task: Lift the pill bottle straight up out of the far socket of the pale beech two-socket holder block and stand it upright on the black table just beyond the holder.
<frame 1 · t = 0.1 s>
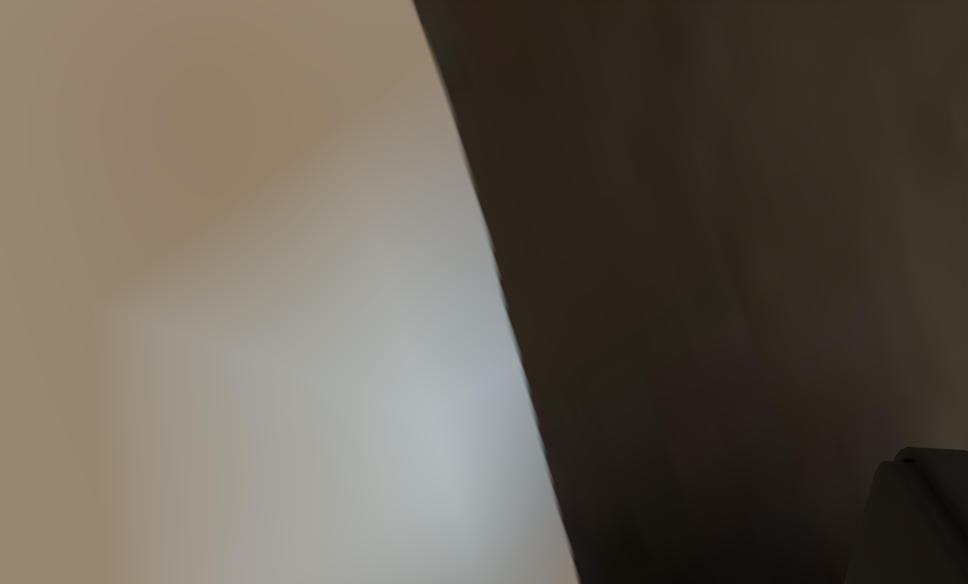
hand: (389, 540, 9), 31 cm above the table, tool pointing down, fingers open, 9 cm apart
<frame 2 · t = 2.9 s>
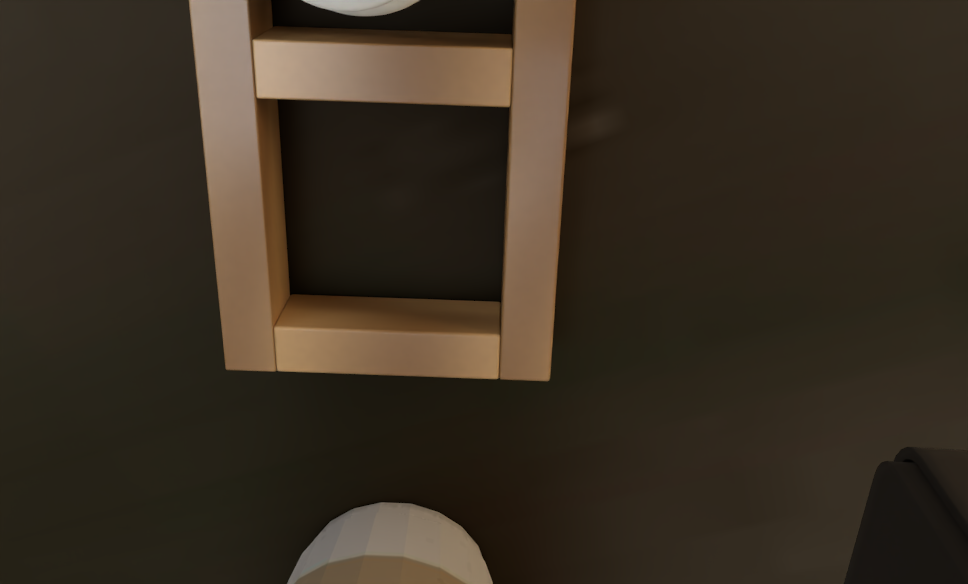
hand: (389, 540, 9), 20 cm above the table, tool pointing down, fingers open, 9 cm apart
holder: (392, 57, 27), on the table
coffee cup: (397, 572, 35), on the table
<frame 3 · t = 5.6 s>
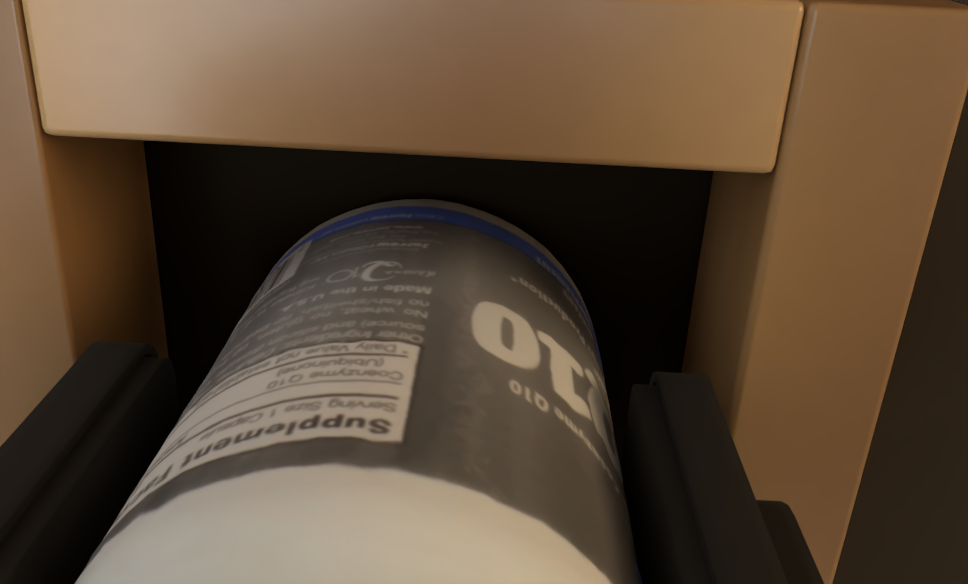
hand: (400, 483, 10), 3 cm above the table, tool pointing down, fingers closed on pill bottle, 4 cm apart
pill bottle: (424, 346, 12), resting in holder, touching gripper
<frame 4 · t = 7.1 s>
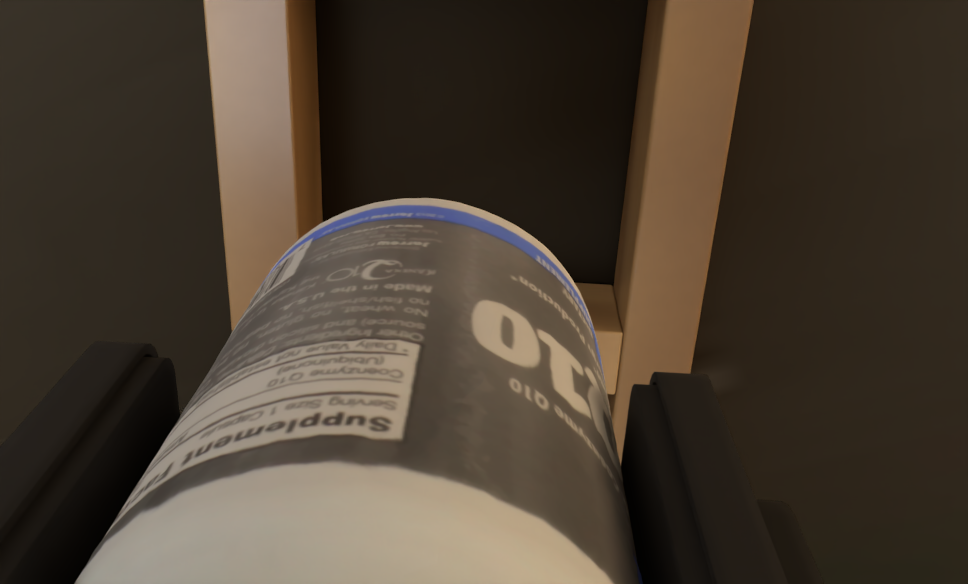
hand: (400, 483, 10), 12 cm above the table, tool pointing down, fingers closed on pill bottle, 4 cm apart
holder: (467, 304, 22), on the table
pill bottle: (425, 345, 12), point 9 cm above the table, touching gripper
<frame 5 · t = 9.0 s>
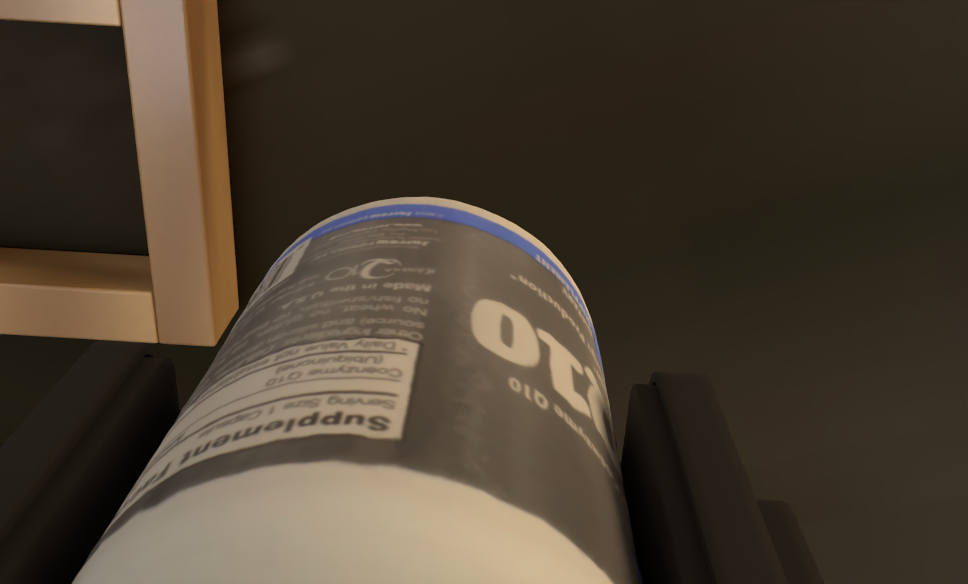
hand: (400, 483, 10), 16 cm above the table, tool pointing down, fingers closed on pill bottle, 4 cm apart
pill bottle: (424, 344, 12), point 13 cm above the table, touching gripper
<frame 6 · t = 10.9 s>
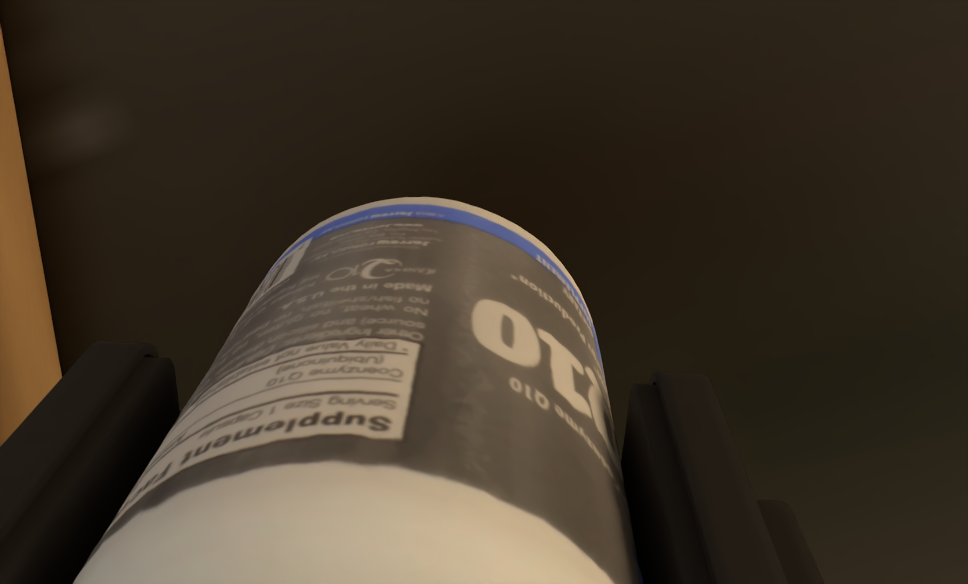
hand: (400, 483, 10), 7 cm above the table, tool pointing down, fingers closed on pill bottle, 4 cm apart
pill bottle: (424, 345, 12), point 4 cm above the table, touching gripper
when the fingers open (3 cm above the table, at t = 12.4 s): pill bottle stays where it is, on the table.
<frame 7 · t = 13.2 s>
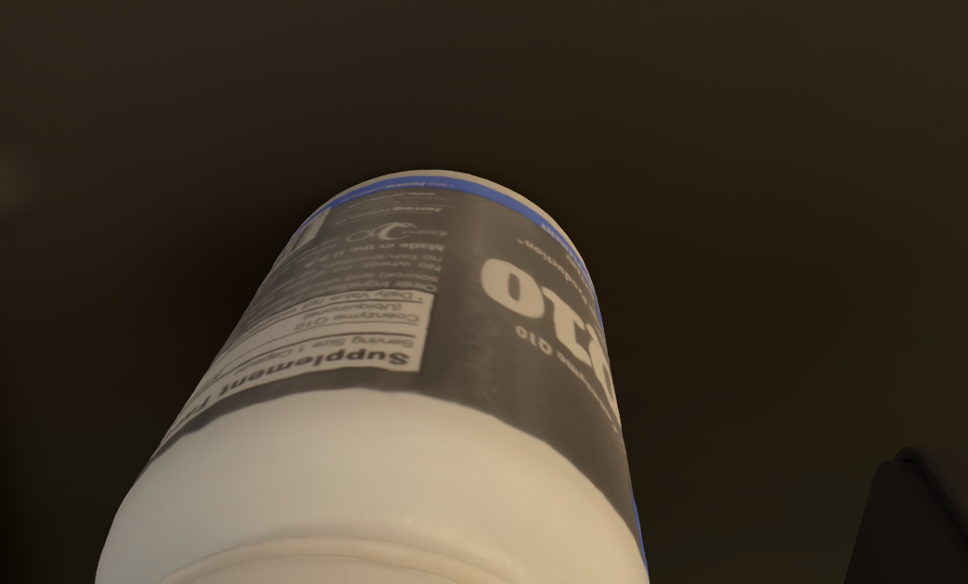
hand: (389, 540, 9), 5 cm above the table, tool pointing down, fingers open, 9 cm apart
pill bottle: (435, 312, 13), on the table
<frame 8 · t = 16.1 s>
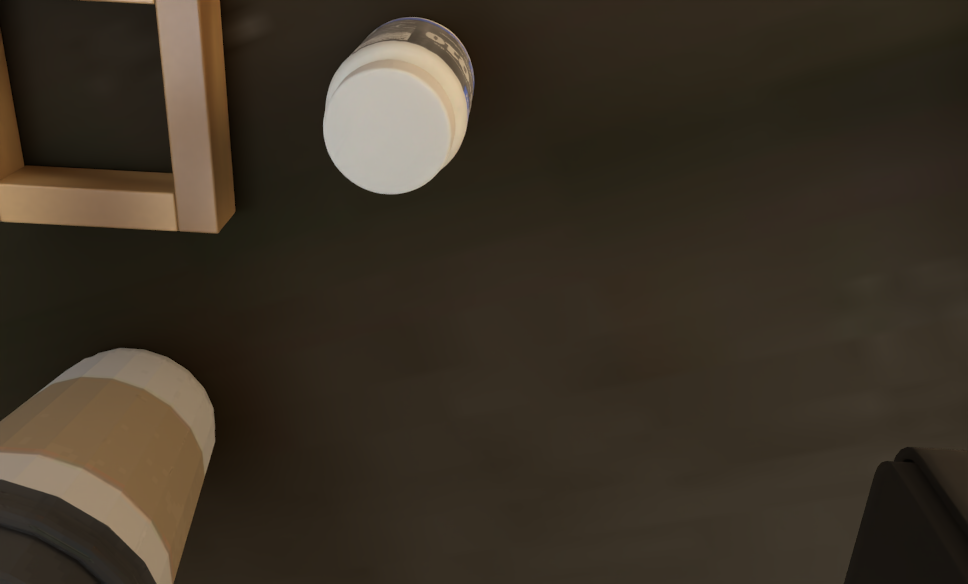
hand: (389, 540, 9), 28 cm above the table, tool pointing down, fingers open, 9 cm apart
coffee cup: (142, 411, 42), on the table
pill bottle: (414, 76, 35), on the table
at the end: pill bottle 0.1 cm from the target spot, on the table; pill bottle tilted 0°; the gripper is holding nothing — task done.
